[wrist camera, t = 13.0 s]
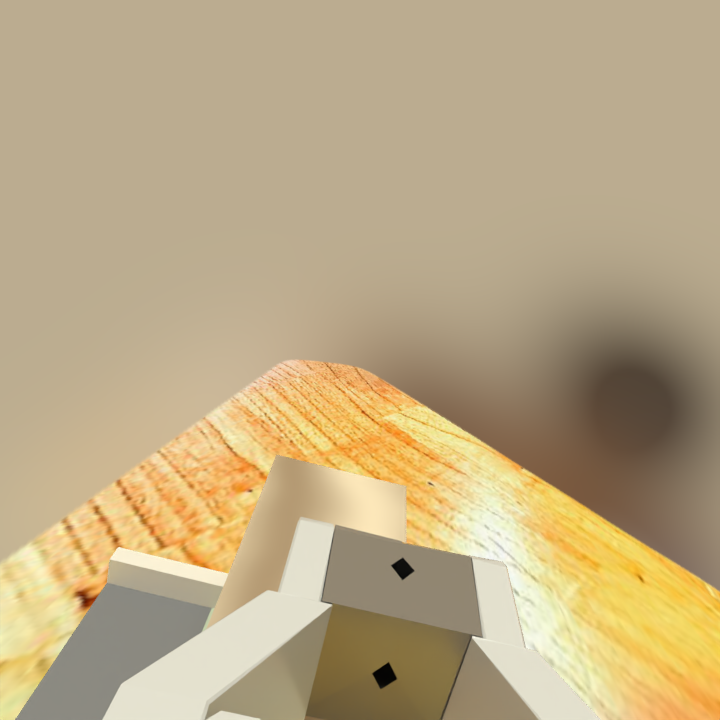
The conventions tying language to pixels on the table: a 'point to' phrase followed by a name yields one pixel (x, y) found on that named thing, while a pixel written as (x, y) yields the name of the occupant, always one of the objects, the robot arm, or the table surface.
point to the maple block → (309, 500)
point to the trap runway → (125, 633)
